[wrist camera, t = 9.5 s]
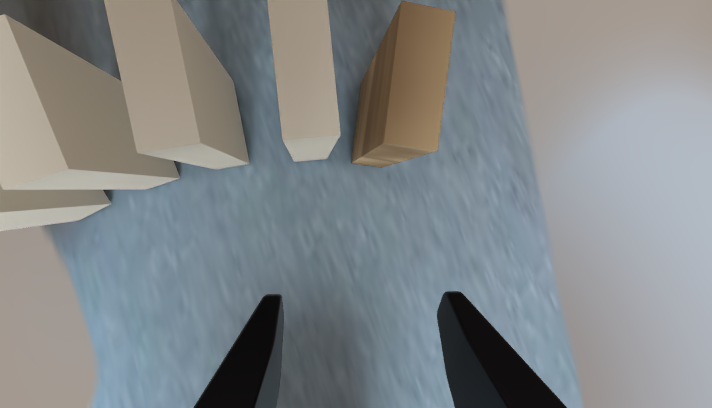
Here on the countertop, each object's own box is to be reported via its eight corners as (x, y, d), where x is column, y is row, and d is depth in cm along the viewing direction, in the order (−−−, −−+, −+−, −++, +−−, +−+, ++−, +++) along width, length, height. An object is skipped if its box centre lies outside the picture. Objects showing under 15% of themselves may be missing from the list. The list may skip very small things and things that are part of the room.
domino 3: (233, 81, 21) (168, -11, 12) (249, 164, 22) (200, 142, 12) (199, 86, 21) (103, -4, 11) (216, 169, 22) (137, 152, 12)
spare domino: (391, 89, 23) (455, 11, 13) (382, 167, 23) (437, 150, 13) (360, 83, 22) (401, 0, 13) (351, 163, 23) (383, 142, 13)
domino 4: (318, 77, 22) (325, -13, 12) (326, 159, 22) (340, 134, 12) (285, 79, 22) (266, -11, 12) (294, 161, 22) (282, 139, 12)
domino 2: (149, 97, 21) (5, 14, 11) (180, 178, 21) (68, 169, 11) (114, 107, 21) (-65, 32, 11) (146, 189, 21) (2, 189, 11)
